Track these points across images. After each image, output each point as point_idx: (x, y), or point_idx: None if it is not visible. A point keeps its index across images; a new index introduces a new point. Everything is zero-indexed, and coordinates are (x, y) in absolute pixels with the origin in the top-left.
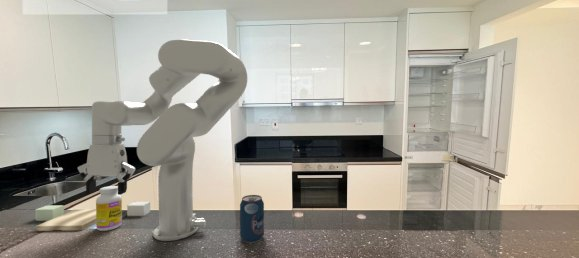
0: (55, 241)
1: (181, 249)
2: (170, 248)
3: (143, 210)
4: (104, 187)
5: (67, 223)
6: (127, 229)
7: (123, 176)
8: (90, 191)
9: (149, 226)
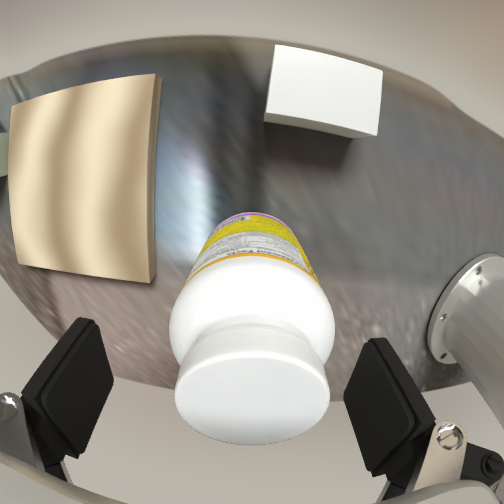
0: (143, 342)
1: (463, 376)
2: (450, 377)
3: (362, 136)
4: (193, 397)
5: (79, 254)
6: (340, 287)
7: (425, 477)
8: (106, 381)
9: (409, 268)
